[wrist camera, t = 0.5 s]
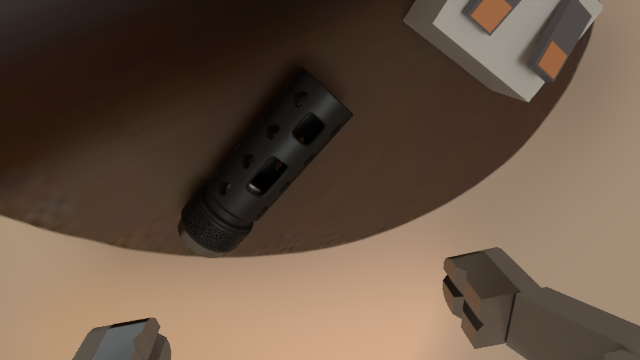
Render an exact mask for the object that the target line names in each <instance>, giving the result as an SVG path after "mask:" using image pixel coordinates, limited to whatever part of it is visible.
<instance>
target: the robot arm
mask: <svg viewBox="0 0 640 360" xmlns="http://www.w3.org/2000/svg"><path fill="white" fill-rule="evenodd" d="M444 270H445V271H446V273H447V276H446V277H445V278H444V280H443V293H444V297H445V300H446V302H447V305H448V307H449V308H450V310H451V312H452V313H453V314H454V315H456V316H457V317H459V318H461V319H462V324H461V328H462V329H463V331H464V333H465V334H466V336H467V337H468V339H469V341H470V342H471V343H472V345H473V347H474V349H476V348H482V347H487V346H493V345H498V344H502V343H506V345H507V346H508V347H510V348H511V349H513V350H514V351H516V352H517V353H519V354H520V355H521V356H523V357H524V358H526V359H527V360H640V326H638V325H636V324H634V323H631V322H629V321H626V320H624V319H621V318H619V317H617V316H615V315H612V314H610V313H607V312H605V311H603V310H600V309H598V308H595V307H593V306H591V305H588V304H586V303H584V302H581V301H579V300H577V299H574V298H572V297H569V296H567V295H565V294H562V293H560V292H558V291H555V290H553V289H551V288H548V287H544V288H541V287H540V286H539V285H538V284H537V283H536V282H535V281H534V280H533V279H532V278H531V277H530V276H528V274H527V273H526V272H524V270H523V269H521V268H520V267H519V266H518V265H517V264H516V263H515V262H514V261H513V260H512V259H511V258H510V257H509V256H508V255H507V254H506V253H505V252H504V251H503V250H502V249H500V248H498V247H495V248H491V249H486V250H482V251H477V252H472V253H467V254H463V255H458V256H453V257H448V258H446V259H445V261H444ZM159 329H160V325H159V323H158V322H157V320H156V318H146V319H140V320H135V321H130V322H124V323H118V324H113V325H109V326H103V327H97V328H94V329H92V330H91V331H90V332H89V333H88V334H87V336H86V337H85V339H84V341H83V342H82V344H81V346H80V348H79V349H78V351H77V352H76V354H75V356H74V358H73V359H72V360H171V349H170V344H169V342H168V340H167V338H166V337H164V336H163V335H161V334H159V333H158V331H159Z"/></svg>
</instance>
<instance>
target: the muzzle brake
mask: <svg viewBox="0 0 640 360" xmlns="http://www.w3.org/2000/svg"><path fill="white" fill-rule="evenodd" d="M352 116H353V113H352V112H351V111H350V110H349V109H348V108H346V107H345V106H344V105H343V104H342V103H341V102H340V101H339V100H338V99H337V98H336V97H335V96H334V95H332V94H331V93H330V92H329V91H328V90H327V89H326V88H325V87H324V86H323V85H322V84H321V83H320V82H318V81H317V80H316V79H315V78H314V77H313V76H312V75H311V74H310V73H309V72H308V71H307V70H306V69H304V68H301V69H300V70H299V71H298V73H297V74H296V75H295V76H294V77H293V79H292V80H291V81H290V82H289V84H288V85H287V86H286V87H285V88H284V90H283V91H282V92H281V93H280V94H279V96H278V97H277V98H276V99H275V100H274V102H273V103H272V104H271V105H270V107H269V108H268V109H267V110H266V111H265V113H264V114H263V115H262V116H261V117H260V119H259V120H258V121H257V122H256V123H255V125H254V126H253V127H252V128H251V130H250V131H249V132H248V133H247V134H246V136H245V137H244V138H243V139H242V140H241V142H240V143H239V144H238V145H237V147H236V148H235V149H234V150H233V151H232V153H231V154H230V155H229V156H228V157H227V159H226V160H225V161H224V162H223V163H222V165H221V166H220V167H219V168H218V170H217V171H216V172H215V173H214V174H213V176H212V177H211V178H210V180H209V183H208V186H204V187H203V188H200V189H199V190H198V191H197V192H196V193H195V194H194V195H193V197H192V198H191V199H190V200H189V202H188V203H187V204H186V205H185V206H184V208H183V210H182V213H181V220H180V221H179V223H178V233H179V235H180V237H181V239H182V240H183V242H184V243H185V244H186V245H187V246H188V247H189V248H190V249H191V250H192V251H194V252H195V253H197V254H199V255H201V256H204V257H208V258H217V257H220V256H222V255H223V254H224V253H225V252H229V251H232V250H234V249H235V248H236V247H237V246H238V245H239V244H240V243H241V242H242V241H243V239H244V238H245V237H246V236H247V235H248V234H249V233H250V232H251V229H252V226H253V222H254V221H257V220H259V219H260V218H261V217H262V216H263V214H264V213H265V212H266V211H267V210H268V209H269V208H270V207H271V206H272V204H273V203H274V202H275V201H276V200H277V199H278V198H279V197H280V196H281V195H282V193H283V192H284V191H285V190H286V189H287V188H288V187H289V186H290V185H291V183H292V182H293V181H294V180H295V179H296V178H297V177H298V176H299V175H300V174H301V172H302V171H303V170H304V169H305V168H306V167H307V166H308V165H309V164H310V162H311V161H312V160H313V159H314V158H315V157H316V156H317V155H318V154H319V153H320V151H321V150H322V149H323V148H324V147H325V146H326V145H327V144H328V143H329V141H330V140H331V139H332V138H333V137H334V136H335V135H336V134H337V133H338V132H339V130H340V129H341V128H342V127H343V126H344V125H345V124H346V123H347V122H348V120H349V119H350V118H351V117H352ZM299 137H304V142H301V141H300V140H298V139H297V138H299ZM280 161H281V162H282V163H283V165H282V166H281V167H279V169H278V171H276V170H275V162H280Z"/></svg>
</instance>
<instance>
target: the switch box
mask: <svg viewBox="0 0 640 360" xmlns="http://www.w3.org/2000/svg"><path fill="white" fill-rule="evenodd" d="M471 1H472V0H415V2H414V4H413V5H412V7H411V8H410V10H409V12H408V13H407V15H406V17H405V18H404V20H403V22H404V23H406V24H407V25H408V26H410V27H411V28H412V29H413V30H415V31H416V32H417V33H419V34H420V35H421V36H422V37H424V38H425V39H426V40H427V41H429V42H430V43H431V44H433V45H434V46H435V47H436V48H438V49H439V50H440V51H442V52H443V53H444V54H445V55H447V56H448V57H449V58H451V59H452V60H453V61H454V62H456V63H457V64H458V65H459V66H461V67H462V68H463V69H465V70H466V71H467V72H468V73H470V74H471V75H472V76H474V77H475V78H476V79H477V80H479V81H480V82H481V83H483V84H484V85H485V86H486V87H488V88H489V89H490V90H492V91H495V92H498V93H501V94H504V95H507V96H510V97H514V98H517V99H520V100H523V101H526V102H529V101H530V100H531V99H532V98H533V96H534V95H535V94H536V93H537V91H538V90H539V89H540V88H541V86H542V85H543V84H544V83H545V82H544V81H543V80H542V79H541V78H540V77H539V76H538V75H537V74H536V73H534V72H533V71H532V70H531V69H530V68H529V67H528V66H527V65H526V64H527V62H528V60H529V59H530V57H531V55H532V53H533V52H534V50H535V48H536V46H537V45H538V43H539V41H540V39H541V34H542V32H543V31H544V30H545V29H546V28H547V27H548V25H549V23H550V22H551V20H552V18H553V16H554V14H555V13H556V11H557V9H558V7H559V6H560V4H561V2H562V0H521V1H520V3H519V4H518V5H517V6H516V7H515V8H514V9H513V11H512V12H511V13H510V14H509V15H508V16H507V18H506V19H505V20H504V21H503V22H502V23H501V24H500V26H499V27H498V28H497V29H496V30H495V31H494V32H493V34H492V35H491V36H489V35H487V34H485V33H484V32H483V31H482V30H481V29H479V28H478V27H477V26H476V25H475V24H474V23H473V22H472V21H470V20H469V19H468V18H467V17H466V16H465V15H464V14H462V12H463V11H464V9H465V8H466V7H467V6H468V4H469V3H470V2H471ZM579 1H580V3H581V4H582V5H583V6H584V7H585V8H586V10H587V11H588V12H589V13H590V14H591V16H592V17H591V19H590V21H589V22H588V24H587V26H586V27H585V29H584V31H583V33H582V34H581V36H582V35H583V34H584V32H585V31H586V30H587V29H588V27H589V26H590V25H591V24H592V22H593V21H594V20H595V19H596V17H597V16H598V14H599V13H600V12H601V11H602V10H603V6H602V5H601V4H600V3H599V1H598V0H579ZM581 36H580V37H581ZM579 39H580V38H579Z"/></svg>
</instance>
